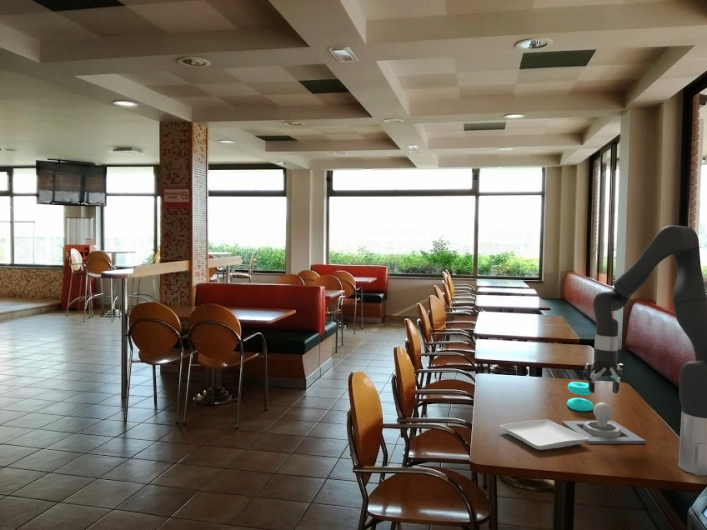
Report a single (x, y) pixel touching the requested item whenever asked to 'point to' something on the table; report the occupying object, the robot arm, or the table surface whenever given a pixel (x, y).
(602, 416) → the lightbulb
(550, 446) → the salad plate
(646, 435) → the table surface
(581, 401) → the donuts
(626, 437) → the bulb socket stand
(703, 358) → the robot arm
